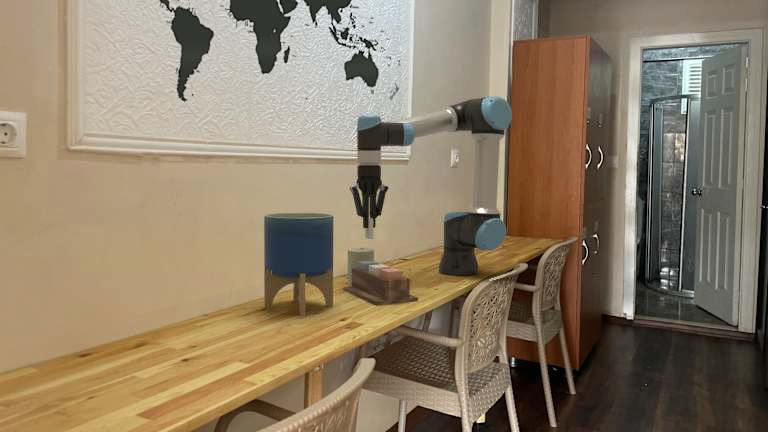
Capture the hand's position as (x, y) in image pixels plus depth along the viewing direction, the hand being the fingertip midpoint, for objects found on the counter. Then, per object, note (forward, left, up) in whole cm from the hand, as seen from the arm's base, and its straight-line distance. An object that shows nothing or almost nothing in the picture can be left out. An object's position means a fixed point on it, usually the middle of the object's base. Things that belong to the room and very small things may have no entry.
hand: (369, 238), depth 197 cm
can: (-3, -12, -17) cm, 21 cm away
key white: (0, +8, -14) cm, 16 cm away
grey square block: (0, 0, -14) cm, 14 cm away
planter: (+28, +13, -17) cm, 36 cm away
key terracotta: (0, +16, -14) cm, 21 cm away
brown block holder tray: (0, +8, -17) cm, 19 cm away
